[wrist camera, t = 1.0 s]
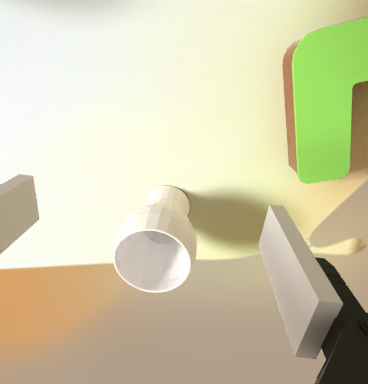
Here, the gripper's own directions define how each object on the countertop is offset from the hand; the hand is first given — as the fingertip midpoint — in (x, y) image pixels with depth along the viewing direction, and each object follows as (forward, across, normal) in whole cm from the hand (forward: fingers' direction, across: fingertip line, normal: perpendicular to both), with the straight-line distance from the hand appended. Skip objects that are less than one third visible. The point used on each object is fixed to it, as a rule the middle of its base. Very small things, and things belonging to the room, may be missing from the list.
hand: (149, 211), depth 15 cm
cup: (+27, -1, -14) cm, 31 cm away
